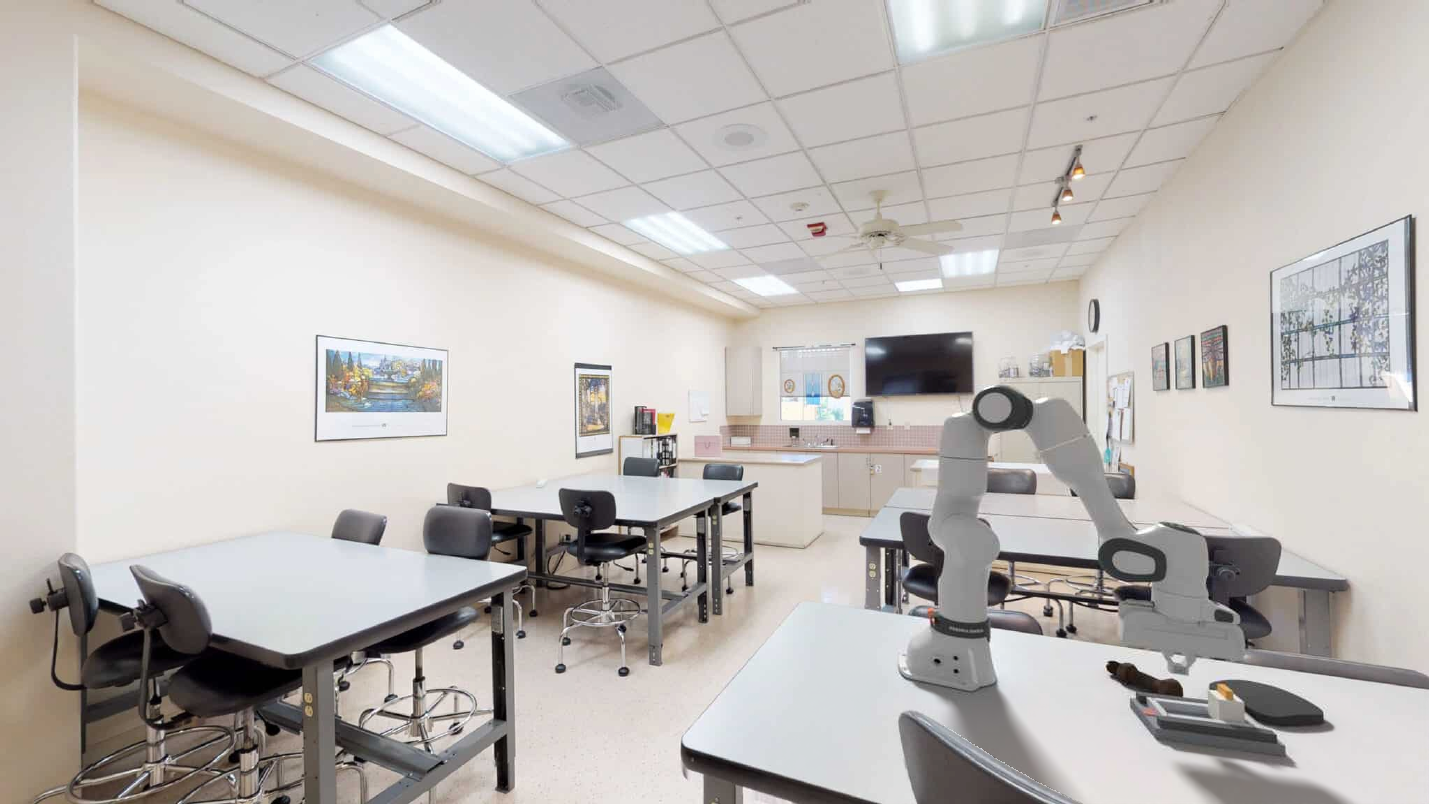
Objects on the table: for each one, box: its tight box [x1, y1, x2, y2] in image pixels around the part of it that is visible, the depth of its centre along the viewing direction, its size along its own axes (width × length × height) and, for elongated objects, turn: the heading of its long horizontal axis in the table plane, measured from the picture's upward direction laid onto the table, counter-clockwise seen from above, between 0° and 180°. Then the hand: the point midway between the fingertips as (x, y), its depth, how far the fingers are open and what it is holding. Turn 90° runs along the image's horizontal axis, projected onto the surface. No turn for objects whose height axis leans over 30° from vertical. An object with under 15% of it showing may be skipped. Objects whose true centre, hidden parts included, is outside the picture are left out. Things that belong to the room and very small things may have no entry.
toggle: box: [1207, 684, 1245, 723], centre depth 109 cm, size 4×4×7 cm
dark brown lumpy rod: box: [1105, 660, 1184, 697], centre depth 127 cm, size 6×5×15 cm
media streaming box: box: [1208, 679, 1325, 728], centre depth 118 cm, size 15×15×3 cm
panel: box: [1129, 691, 1287, 757], centre depth 110 cm, size 20×12×4 cm, turn 72°
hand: (1177, 673), depth 112 cm, fingers closed
